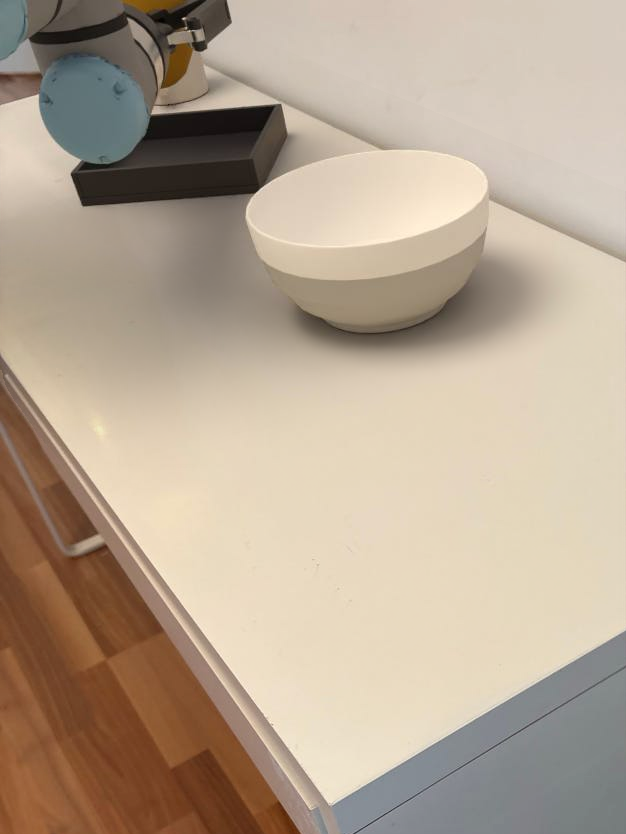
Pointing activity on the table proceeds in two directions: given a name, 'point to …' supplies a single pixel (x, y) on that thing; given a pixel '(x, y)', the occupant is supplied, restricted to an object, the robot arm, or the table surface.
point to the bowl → (372, 235)
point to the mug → (186, 84)
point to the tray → (190, 157)
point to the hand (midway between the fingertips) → (151, 1)
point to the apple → (183, 53)
